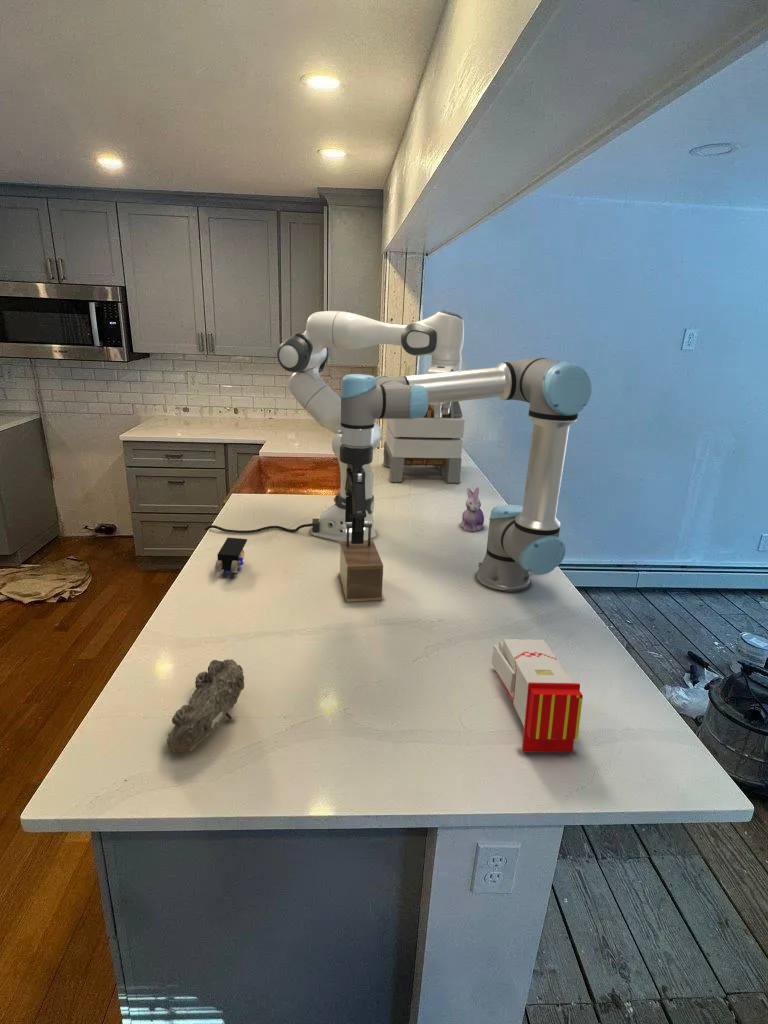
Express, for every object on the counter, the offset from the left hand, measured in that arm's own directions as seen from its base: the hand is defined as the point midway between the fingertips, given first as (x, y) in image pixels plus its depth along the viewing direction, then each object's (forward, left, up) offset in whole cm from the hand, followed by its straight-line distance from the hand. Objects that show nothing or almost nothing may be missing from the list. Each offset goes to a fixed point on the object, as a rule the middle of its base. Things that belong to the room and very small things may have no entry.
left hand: (441, 416), depth 172 cm
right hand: (-10, -51, -20) cm, 56 cm away
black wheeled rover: (-53, -36, -45) cm, 78 cm away
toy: (+34, -70, -45) cm, 89 cm away
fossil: (-24, -93, -45) cm, 106 cm away
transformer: (-24, +90, -45) cm, 103 cm away
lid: (-14, -32, -35) cm, 50 cm away
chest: (-14, -33, -45) cm, 57 cm away
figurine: (+10, +26, -45) cm, 53 cm away
